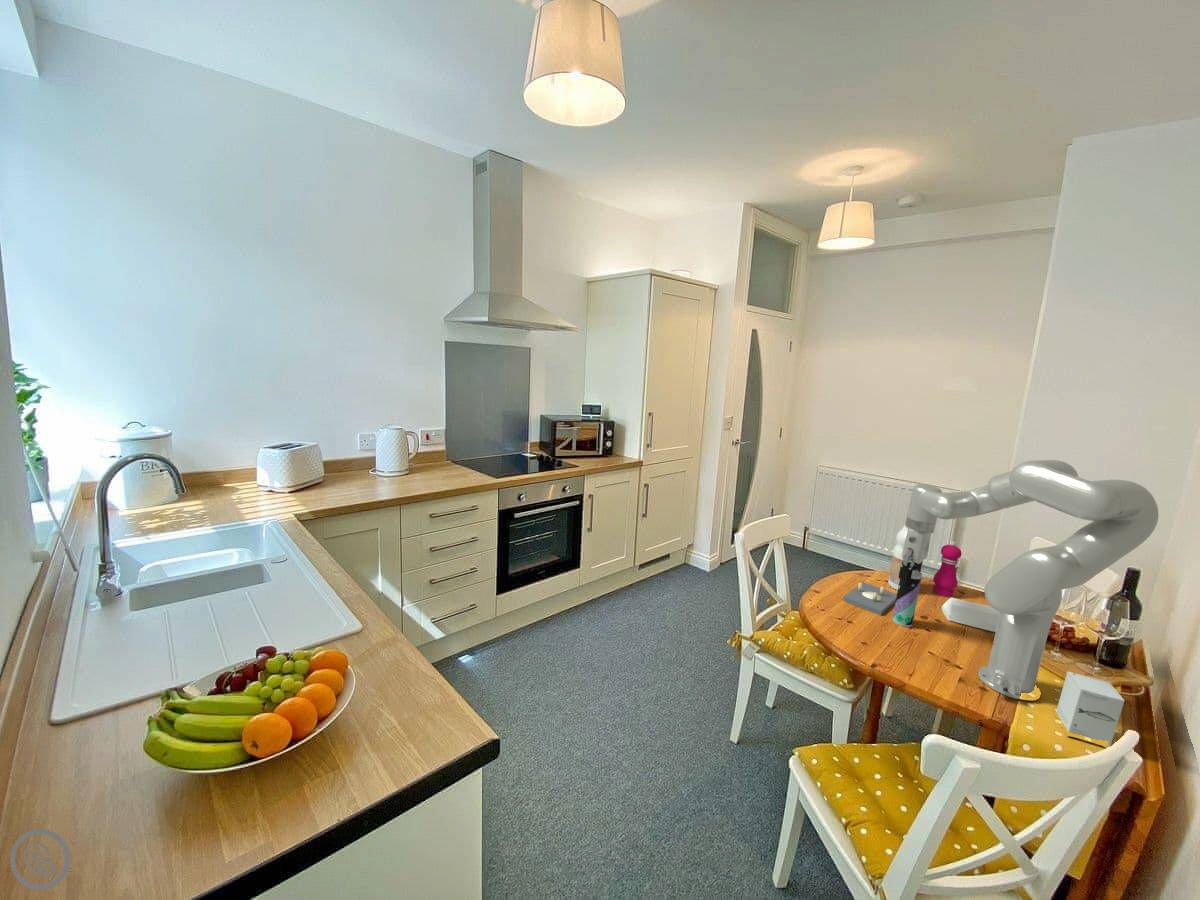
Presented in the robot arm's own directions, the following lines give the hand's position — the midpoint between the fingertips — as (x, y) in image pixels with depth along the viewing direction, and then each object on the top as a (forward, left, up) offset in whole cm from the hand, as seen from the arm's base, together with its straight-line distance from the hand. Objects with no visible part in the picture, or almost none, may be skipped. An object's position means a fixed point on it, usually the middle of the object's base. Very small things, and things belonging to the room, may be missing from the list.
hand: (909, 575), depth 149 cm
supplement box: (-20, -43, -16) cm, 50 cm away
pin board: (+8, +11, -16) cm, 21 cm away
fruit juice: (+28, +7, -16) cm, 33 cm away
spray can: (0, -1, -16) cm, 16 cm away
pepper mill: (+36, -4, -16) cm, 39 cm away
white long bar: (+20, -19, -17) cm, 32 cm away
